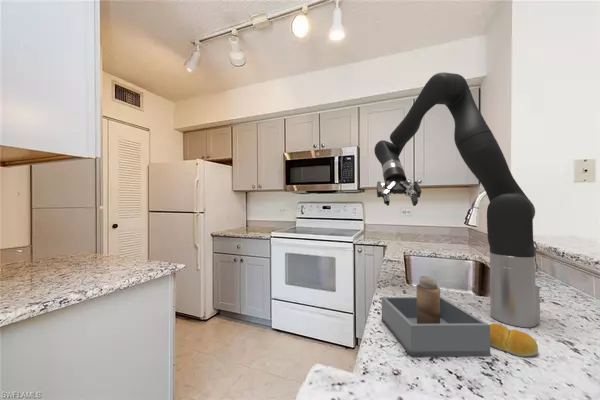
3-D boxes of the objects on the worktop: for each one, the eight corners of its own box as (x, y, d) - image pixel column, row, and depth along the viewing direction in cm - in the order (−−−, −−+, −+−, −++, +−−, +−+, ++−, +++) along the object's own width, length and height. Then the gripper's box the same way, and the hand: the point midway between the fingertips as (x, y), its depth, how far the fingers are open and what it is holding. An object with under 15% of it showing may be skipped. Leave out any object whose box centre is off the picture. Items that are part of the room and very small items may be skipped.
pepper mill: (432, 325, 60) (432, 275, 61) (444, 336, 56) (444, 281, 56) (413, 326, 60) (412, 275, 61) (423, 336, 55) (423, 281, 56)
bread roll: (536, 364, 48) (535, 342, 48) (479, 345, 55) (479, 326, 55) (540, 348, 53) (540, 328, 54) (488, 332, 60) (488, 315, 60)
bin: (442, 320, 66) (441, 297, 66) (490, 355, 50) (490, 325, 50) (381, 320, 65) (381, 297, 66) (411, 356, 49) (410, 325, 50)
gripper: (375, 166, 94) (380, 195, 82) (415, 165, 92) (427, 195, 80) (373, 182, 99) (378, 211, 87) (411, 181, 97) (421, 212, 85)
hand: (401, 203), depth 84 cm, fingers open, 8 cm apart
